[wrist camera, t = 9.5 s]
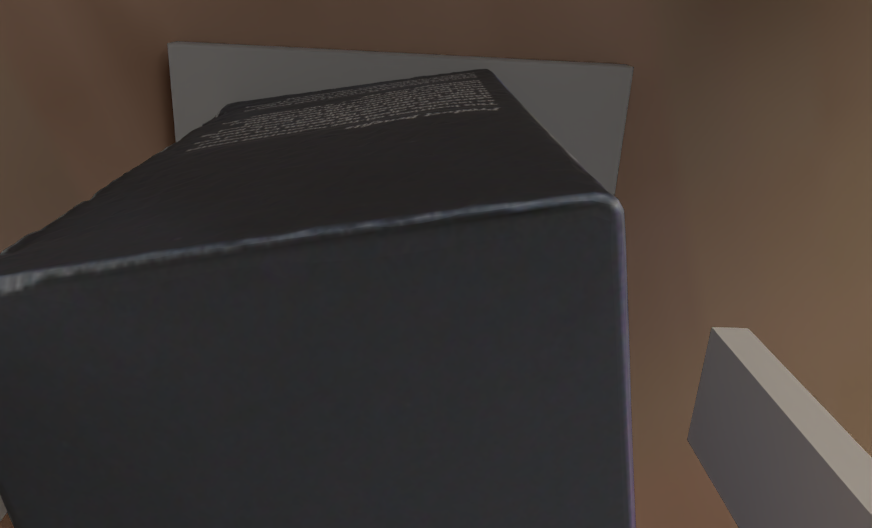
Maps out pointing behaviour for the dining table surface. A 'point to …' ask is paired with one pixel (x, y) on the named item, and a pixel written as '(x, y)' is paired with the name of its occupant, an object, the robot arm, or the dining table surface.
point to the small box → (327, 326)
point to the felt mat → (330, 68)
